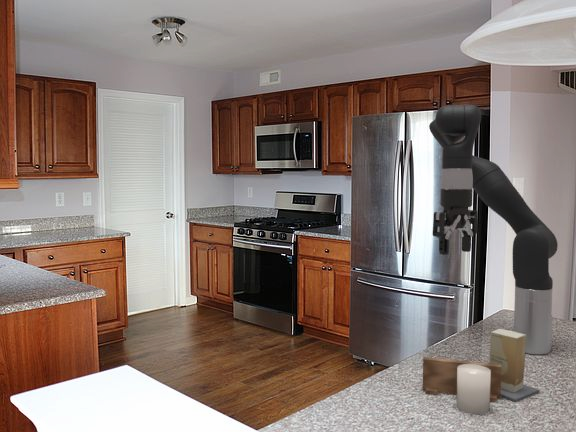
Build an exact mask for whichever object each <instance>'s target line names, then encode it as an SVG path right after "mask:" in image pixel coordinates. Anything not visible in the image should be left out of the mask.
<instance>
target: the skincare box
mask: <svg viewBox="0 0 576 432" xmlns="http://www.w3.org/2000/svg"><path fill="white" fill-rule="evenodd" d="M489 347H490V348H489V349H490V350H489V364H499V365H501V389H504V390H507V391H510V392H513V393H515V392H517V391H519V390H521V389H522V388H523V384H524V379H525V377H524V376H525V363H526V361H525V360H526V353H525V348H526V335H525V334H521V333H517V332H514V330H513V331H512V330H507V329H503V328H498V329H495V330H492V331H491V332H490V346H489Z"/></svg>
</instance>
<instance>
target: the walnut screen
mask: <svg viewBox="0 0 576 432" xmlns="http://www.w3.org/2000/svg"><path fill="white" fill-rule="evenodd" d="M489 363H490V362H489ZM489 363H486V362H476V361H467V360H458V359H446V358H436V357H426V356H423V358H422V391H424V392H425V395H432V396H433V395H434V396H438V393H443V394H450V395H457V367H458V366H459V365H463V364H476V365H481V366H484V367H487V368H488V369H490V370H491V380H490V403H491V402H492V403H498V400H501V398H502V397H501V365H499V364H489Z"/></svg>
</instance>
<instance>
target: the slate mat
mask: <svg viewBox="0 0 576 432" xmlns="http://www.w3.org/2000/svg"><path fill="white" fill-rule="evenodd" d="M538 393H540V389H538V388H536V387H532V386H531V385H530V386H529V385H528V384H527V385H525V384H524V383H523V388H522V389H521V390H519V391H517V392H515V393H513V392H510V391H507V390H504V389H501V398H503V399H506V400H508V401H511V402H514V403H518V402H520V401H523V400H525V399H527V398H529V397H531V396H534V395H536V394H538Z"/></svg>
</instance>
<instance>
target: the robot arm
mask: <svg viewBox="0 0 576 432" xmlns="http://www.w3.org/2000/svg"><path fill="white" fill-rule="evenodd" d="M435 114H436V115H435V119H433V120H432V121H431V122H430V123H429V125H428V127H429V130H430V133H431V135H432V136H433V137H434V139H435V140H436V141H437V143H438V144H439V146H440V147H441V148H442V157H441V159H442V161H441V162H442V163H441V164H442V165H441V175H440V201H439V202H440V206H441V207H442V208H443V211H434V213H433V223H432V236H433V237H436V238H437V239H438V251H439V254H440V255H442V256H443V255H445V256H448V255H449V252H450V250H449V249H450V246H449V245H450V239H449V238H450V236H451V234H452V233H453V232H454V231H455V230H458V231H459V232H460V233H461V235H462V236H461V251H462V252H465V253H468V252H471V250H472V237H473V236H474V235H476V234H478V230H479V229H478V210H476V209H469V208H471V207H472V206H473V193H474V192H475V193H476V194H477V196H478V197H479V199H480V200H481V201H482V202H483V203H484V204H485V205H486V206H487V207H488V208H490V210H491V211H493V212H494V213H495V214H497V215H498V216H500V217H501V218H502V219H503V220H504V221H505V222H506V223H507V224H508V225H509V226H510V227H511V229H512V231H513V232H514V233H515V237H514V239H513V242H512V275H513V279H514V283H515V284H514V311H513V315H514V316H513V331H514V332H517V333H521V334H525V335H526V348H525V354H529V355H546V354H550V352H551V349H552V336H553V334H552V333H553V315H552V312H553V311H552V310H553V306H552V305H553V285H554V283H553V281H554V279H553V277H551V276H550V270H549V264H550V262H549V260H550V259H551V258H552V257H554V256H555V254H556V253H557V250H558V248H559V247H558V240H557V239H558V238H557V237H556V235H555V233H553V231H552V230H551V229H550V228H549V227H548V226H547V225H546V224H545V223H544V222H543V221H542V220H541V219H540V217H538V215H537V214H536V213H535V212H534V211H533V210H532V209H531V208H530V206H529V205H528V203H527V202H526V201H525V200H524V197H522V195H521V194H520V193H519V191H518V190H517V188H516V187H515V186H514V184H513V183H512V181H511V180H510V179H509V177H508V176H507V175H506V173H505V172H504V171H503V170H502V168H501V167H500V166H499V165H498V164H497V163H495V162H494V161H491V160H489V159H486V158H483V157H479V156H476V155H473V153H474V152H473V151H474V146H475V145H474V144H475V141H476V137H477V134H478V130H479V128H480V126H481V121H482V113H481V110H480V108H479V107H478V106H476V105H475V104H455V105H452V104H451V105H449V104H447V105H442V106H441V107H439V108H438V110H437V111H436V113H435ZM462 138H463V140H461V141H460V142H458V141H459V140H460V139H462ZM473 190H474V191H473ZM438 229H439V230H438Z"/></svg>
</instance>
